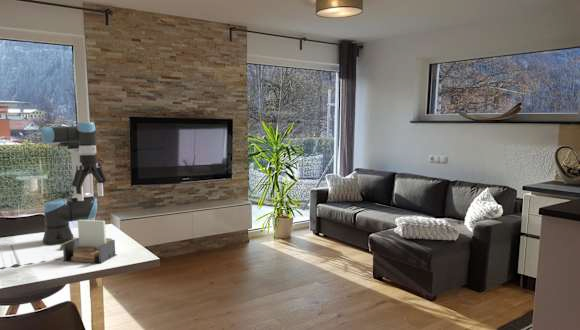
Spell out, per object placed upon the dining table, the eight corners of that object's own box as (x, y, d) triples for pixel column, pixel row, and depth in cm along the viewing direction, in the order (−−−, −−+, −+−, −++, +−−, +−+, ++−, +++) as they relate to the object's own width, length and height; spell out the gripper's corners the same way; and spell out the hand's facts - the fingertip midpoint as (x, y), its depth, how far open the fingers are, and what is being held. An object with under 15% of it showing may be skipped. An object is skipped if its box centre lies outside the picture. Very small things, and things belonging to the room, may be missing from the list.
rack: (82, 255, 215) (81, 236, 214) (118, 257, 211) (117, 238, 210) (62, 264, 201) (61, 244, 200) (100, 267, 197) (98, 247, 196)
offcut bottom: (79, 257, 206) (78, 253, 206) (101, 258, 204) (100, 254, 204) (71, 261, 201) (71, 256, 201) (94, 262, 199) (93, 258, 199)
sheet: (81, 255, 210) (79, 219, 208) (106, 256, 207) (104, 220, 205) (80, 256, 209) (77, 220, 207) (105, 257, 206) (103, 221, 204)
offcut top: (79, 249, 205) (79, 245, 205) (96, 250, 204) (96, 246, 203) (73, 252, 201) (73, 248, 201) (90, 253, 199) (90, 249, 199)
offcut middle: (80, 253, 206) (80, 249, 206) (100, 255, 204) (100, 251, 203) (73, 256, 201) (73, 252, 201) (94, 258, 199) (93, 254, 199)
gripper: (75, 156, 190) (78, 203, 192) (112, 152, 214) (114, 194, 216) (61, 156, 192) (64, 202, 194) (99, 152, 216) (101, 194, 218)
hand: (91, 198), depth 205 cm, fingers open, 13 cm apart
